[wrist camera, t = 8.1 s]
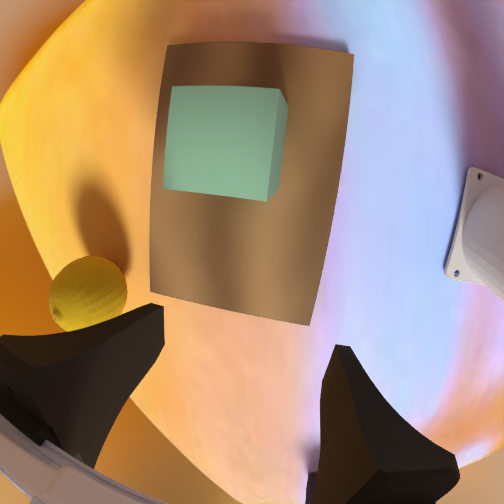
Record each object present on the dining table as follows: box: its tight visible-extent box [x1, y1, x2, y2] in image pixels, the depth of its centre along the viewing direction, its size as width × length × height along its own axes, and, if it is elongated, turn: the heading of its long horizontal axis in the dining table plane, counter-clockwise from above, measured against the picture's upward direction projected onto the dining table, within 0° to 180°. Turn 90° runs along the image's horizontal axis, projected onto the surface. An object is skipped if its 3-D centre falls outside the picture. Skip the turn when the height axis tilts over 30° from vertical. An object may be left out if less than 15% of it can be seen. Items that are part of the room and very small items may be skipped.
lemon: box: [49, 256, 127, 332], centre depth 20 cm, size 6×6×8 cm
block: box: [163, 86, 289, 202], centre depth 15 cm, size 5×5×5 cm
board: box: [150, 42, 354, 326], centre depth 18 cm, size 12×18×1 cm, turn 173°
